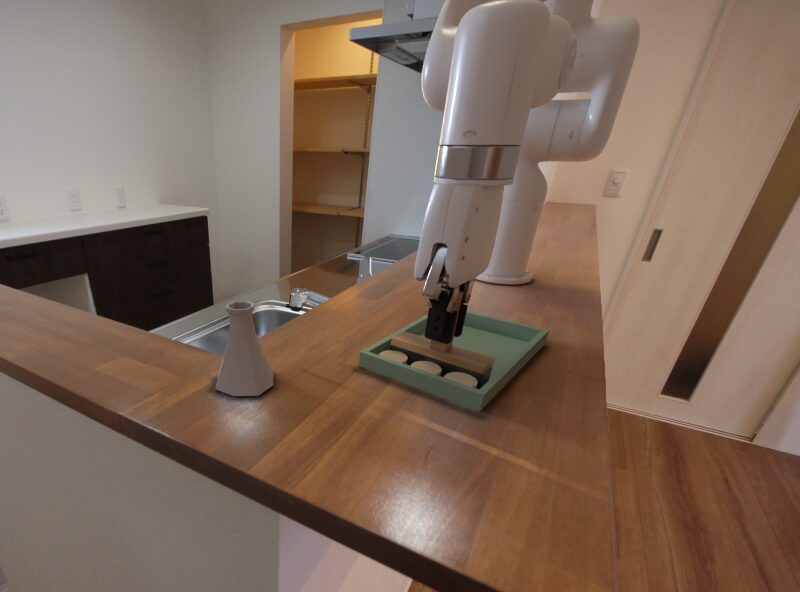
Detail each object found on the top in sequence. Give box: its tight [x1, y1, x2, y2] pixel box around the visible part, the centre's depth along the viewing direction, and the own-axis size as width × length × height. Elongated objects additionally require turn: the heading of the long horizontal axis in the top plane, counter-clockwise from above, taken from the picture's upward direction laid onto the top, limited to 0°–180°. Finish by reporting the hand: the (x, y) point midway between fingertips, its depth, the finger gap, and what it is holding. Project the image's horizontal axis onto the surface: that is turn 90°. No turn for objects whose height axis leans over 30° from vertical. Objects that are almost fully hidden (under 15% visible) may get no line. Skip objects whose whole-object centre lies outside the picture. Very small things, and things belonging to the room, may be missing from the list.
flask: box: [214, 300, 274, 397], centre depth 50 cm, size 7×7×10 cm
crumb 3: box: [444, 372, 478, 388], centre depth 49 cm, size 4×4×2 cm
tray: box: [358, 310, 550, 412], centre depth 57 cm, size 24×16×3 cm, turn 137°
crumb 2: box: [411, 361, 442, 376], centre depth 51 cm, size 4×4×2 cm
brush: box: [390, 289, 495, 389], centre depth 51 cm, size 3×12×10 cm, turn 47°
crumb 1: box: [379, 350, 408, 365], centre depth 54 cm, size 4×4×2 cm
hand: (442, 335), depth 52 cm, fingers closed on brush, 2 cm apart
